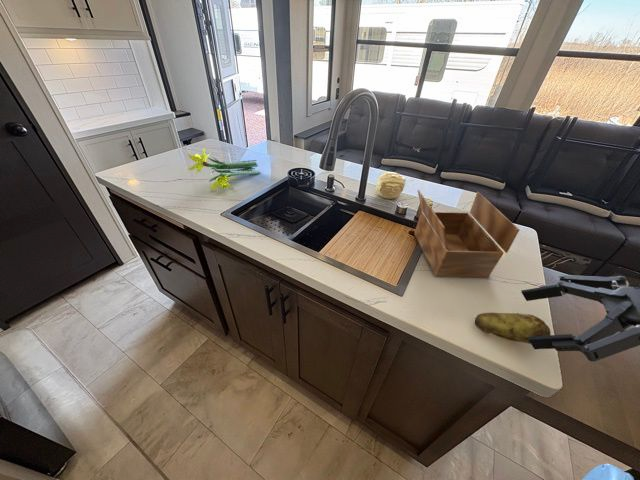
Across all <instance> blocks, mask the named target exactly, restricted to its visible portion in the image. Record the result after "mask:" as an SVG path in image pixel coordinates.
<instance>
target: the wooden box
mask: <svg viewBox="0 0 640 480" xmlns="http://www.w3.org/2000/svg"><path fill="white" fill-rule="evenodd" d="M434 213H435V214H436V215H437V217H438V218H439V220H440V221H441V223H442V224H443V226H444V227H445V232H446V239H447V246H448V249H447V250H446V248H445V246H444V245H443V243H442V242H441V240H440V238H439V237H438V235H437V234H436V232H435V231H434V229H433V227H432V226H431V224H430V223H429V221H428V219H427V218H426V216H425V215H424V213H423V211H422V210H421V212H420V214H419V218H418V221H417V224H416V227H415V230H414V234H413V235H414V236H415V238H416V240H417V242H418V244H419V246H420V248H421V250H422V252H423V254H424V256H425V258H426V260H427V262H428V264H429V266H430V268H431V270H432V272H433V274H434V275H435V277H460V278H461V277H465V278H466V277H467V278H489V277H490V275H492V272H493V271H494V269H495V268H496V266H497V265H498V263H499V261H500V260H501V259H502V257H503V255H504V253H505V254H508V253H509V251H510V249H511V246H512V245H513V243H514V241H515V239H516V237H517V235H518V234H519V232H520V228H518V227H517V226H516V225H515V224H514V223H513V222H512V221H511V220H510V219H509V218H508V217H507V216H506V215H505V214H503V213H502V211H500V210H499V209H498V208H497V207H496V206H495V205H494V204H492V203H491V201H489V200H488V199H487V198H486V197H485V196H484V195H483V194H481V193H480V192H479V191H477V192H476V194H475V197H474V200H473V203H472V205H471V208H470V210H469V212H464V211H463V212H461V211H460V212H459V211H434ZM420 240H421V242H422V244H423V246H422V245H421V243H420Z"/></svg>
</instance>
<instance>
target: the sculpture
mask: <svg viewBox="0 0 640 480" xmlns="http://www.w3.org/2000/svg"><path fill="white" fill-rule="evenodd" d="M405 185H406V178H405V177H404V176H402V175H401V174H400V173H398V172H395V171H394V172H393V171H387V172H384V173H382V174H381V175H379V177H378V179H377V181H376V185H375V188H376V192H377V194H378V195H379V196H380V197H381V198H383V199H387V200H392V199H395V198H397V197H398V196H400V195H401V194H402V193H403V191H404V188H405Z"/></svg>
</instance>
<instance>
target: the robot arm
mask: <svg viewBox="0 0 640 480" xmlns="http://www.w3.org/2000/svg"><path fill="white" fill-rule="evenodd" d="M558 278H559V280H558V281H557V282H556V283H550V284H544V285H540V286H538V287H534V288H527V289H521V290H520V292H521V294H522V296H523V298H524V299H525V301H526V302H529V301H530V302H531V301H538V300H544V299H551V298H557V297H563V295H567V294H568V295H571V296H575V297H580V298H583V299H587V300H590V301H591V300H592V301H595V302H598V303H600V304H601V305H603V308H604V310H605V312H606V314H605V316H604V318H603V319H601V320H599V321H598V322H597V323H596V324H594V325H592V326H591V327H589V328H588V329H587V330H584V332H582V333H580V334H579V335H578V336H575V335H573V334H572V333H565V334H564V333H563V334H550V335H547V336H531V337H528V340H529V342H530V343H531V344H530V345H531V346H532V348H533V350H555V351H557V352H580V353H582V354H583V356H585V357H586V359H587V360H588V361H590V362H597V361H600V360H602V359H605V358H608V357H611V356H614V355H617V354H619V353H622V352H625V351H628V350H630V349H634V348H636V347H639V346H640V283H639V284H638V286H630V284H629V282H628V280H627V277H626V276H625V275H614V276H594V275H593V276H592V275H575V274H561V275H559V276H558ZM632 326H633V327H632ZM630 327H631V328H630ZM581 480H635V477H634V476H633V475H632V474H631V473H629V472H626V471H624V470H622V469H620V468H619V467H618V466H615V465H613V464H611V463H603V464H599V465H597V466H595V467H594V468H592V469H591V470H590V471H589V472H588V473H587V474H586V475H584V477H583V478H582V479H581Z"/></svg>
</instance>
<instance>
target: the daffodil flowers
mask: <svg viewBox="0 0 640 480" xmlns="http://www.w3.org/2000/svg"><path fill="white" fill-rule="evenodd" d="M211 153H212V152H211V151H210V153H208V154H207V155H206V149H205V145H204V146H202V152H201V156H200V155H199V154H198V153H196V154H194V155H193V154H187V156H188V158H190V159H191V161H193V162H195V164H194V165H191V166H190V167H189V168H187V171H194V170H196V173H195V174H198V173H200V172H202V170H203V167H205V168H206V167H207V168H211V170H212V172H211V173H210V175H212V174H213V173H214V172H216V173H219V174H218V175H216V176H214V177H212V178H211V179H209V180H208V182H210V183H211V182H213V181H215V182H213V183H211V184H210V186H209V187H208V189H211V188H212V191H211V192H214V191H216V189H217V188H219V187H220V189H221V190H225V189H227V188H229V189H233V187H232V185H230V183H229V182H228V181H230V180H235V179H237V177H234V176H246V175H247V176H248V175H258V174H261V171H260V170H256V168H257V167H259V166H258V163H257V159H252V160H251V159H250V160H242V161H241V160H240V161H233V162H231V161H230V162H229V161H227V162H224V161H220V160H218V159H217V158H215V157H214V156H213V157H212V158H213V159H212V158H210V157H209V156H210V155H211ZM207 160H209V161H211V162H213V163H209V162H208V161H207Z"/></svg>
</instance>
